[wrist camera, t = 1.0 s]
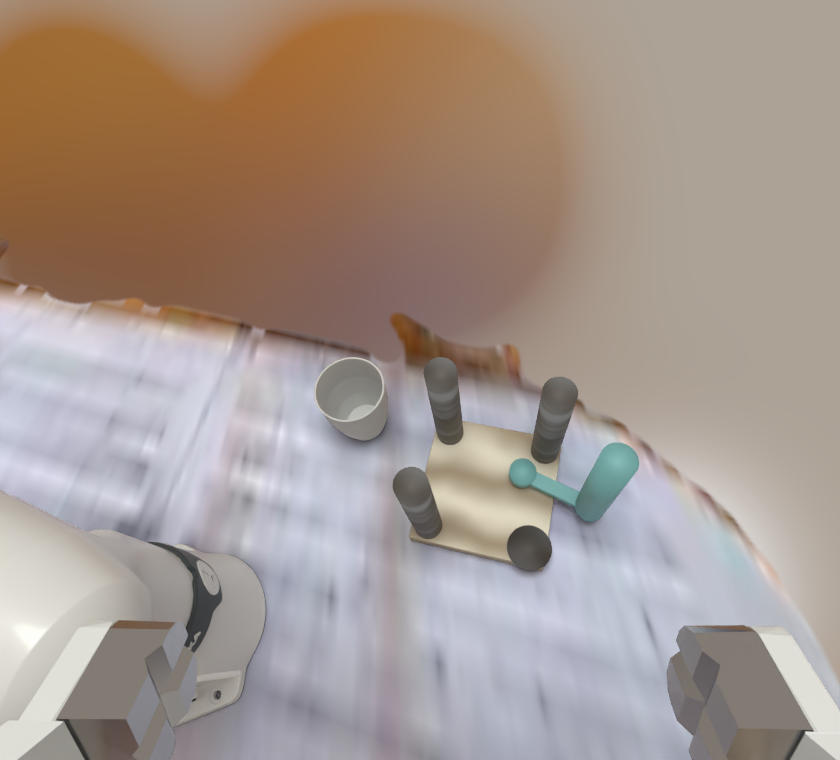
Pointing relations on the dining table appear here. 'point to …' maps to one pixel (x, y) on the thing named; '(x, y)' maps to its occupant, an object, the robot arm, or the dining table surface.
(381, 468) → the dining table surface
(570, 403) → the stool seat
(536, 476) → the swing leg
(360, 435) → the cup
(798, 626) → the dining table surface
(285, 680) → the dining table surface
